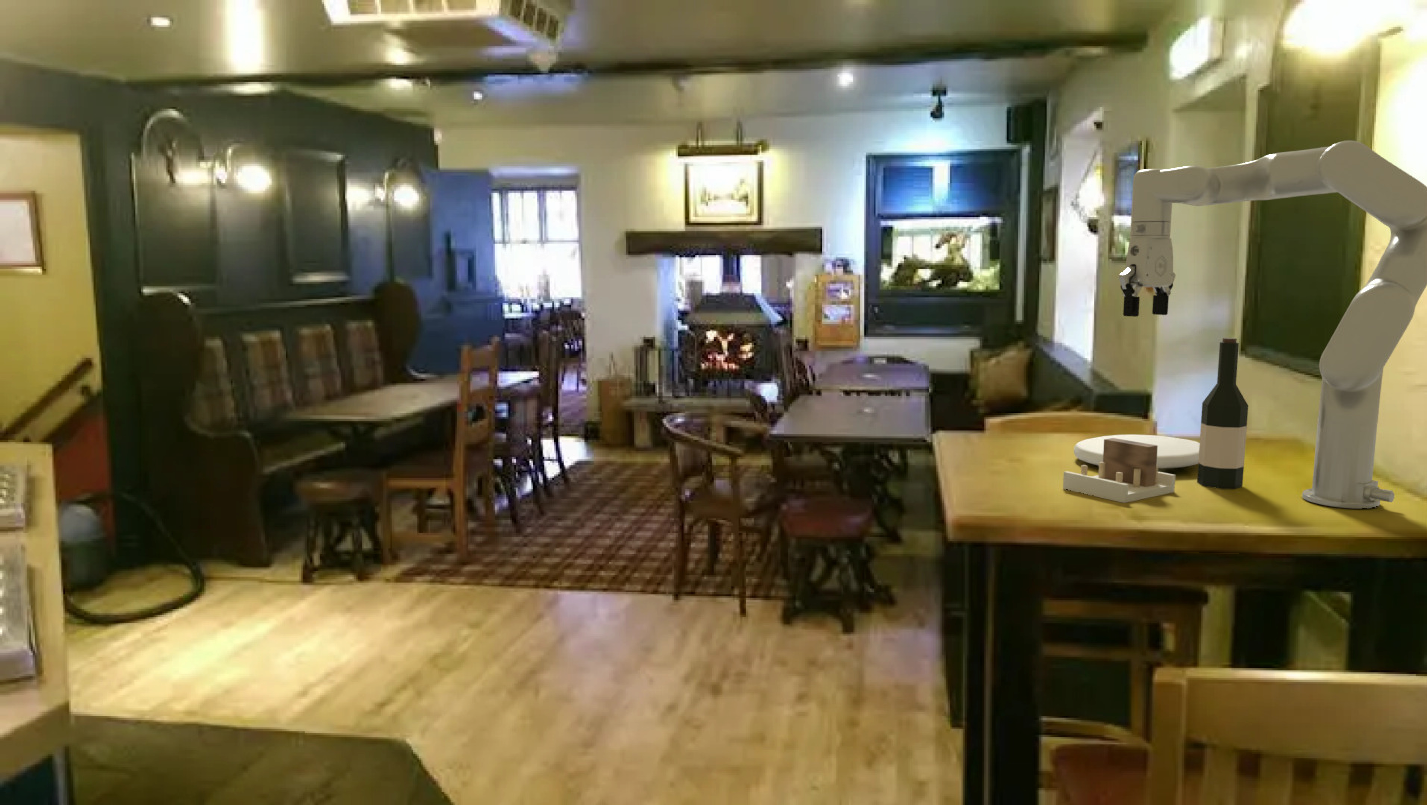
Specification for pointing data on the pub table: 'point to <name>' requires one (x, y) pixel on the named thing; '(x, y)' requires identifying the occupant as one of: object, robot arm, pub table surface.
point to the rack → (1117, 485)
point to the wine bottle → (1223, 426)
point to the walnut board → (1130, 460)
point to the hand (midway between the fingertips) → (1145, 315)
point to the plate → (1168, 449)
